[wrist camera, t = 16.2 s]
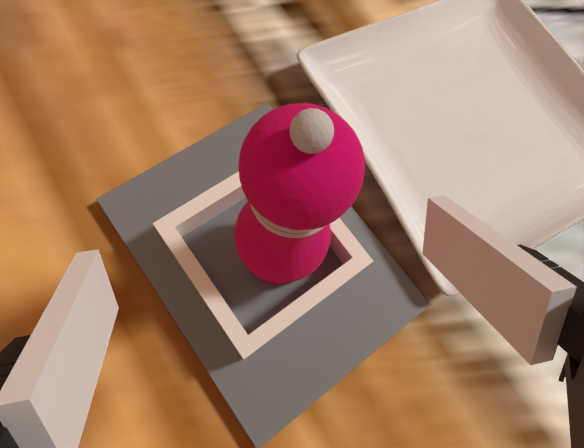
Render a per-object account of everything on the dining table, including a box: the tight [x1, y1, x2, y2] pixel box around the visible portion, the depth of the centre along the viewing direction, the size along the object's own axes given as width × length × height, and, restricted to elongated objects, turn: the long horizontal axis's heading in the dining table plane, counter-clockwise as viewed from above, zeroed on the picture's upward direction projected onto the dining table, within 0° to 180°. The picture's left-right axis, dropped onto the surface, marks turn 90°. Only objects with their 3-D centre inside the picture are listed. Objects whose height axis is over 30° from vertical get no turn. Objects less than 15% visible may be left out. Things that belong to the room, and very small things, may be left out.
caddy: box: [97, 102, 430, 448], centre depth 33 cm, size 18×24×4 cm
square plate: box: [297, 0, 584, 296], centre depth 39 cm, size 27×27×4 cm
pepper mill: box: [234, 103, 365, 285], centre depth 24 cm, size 7×7×20 cm
